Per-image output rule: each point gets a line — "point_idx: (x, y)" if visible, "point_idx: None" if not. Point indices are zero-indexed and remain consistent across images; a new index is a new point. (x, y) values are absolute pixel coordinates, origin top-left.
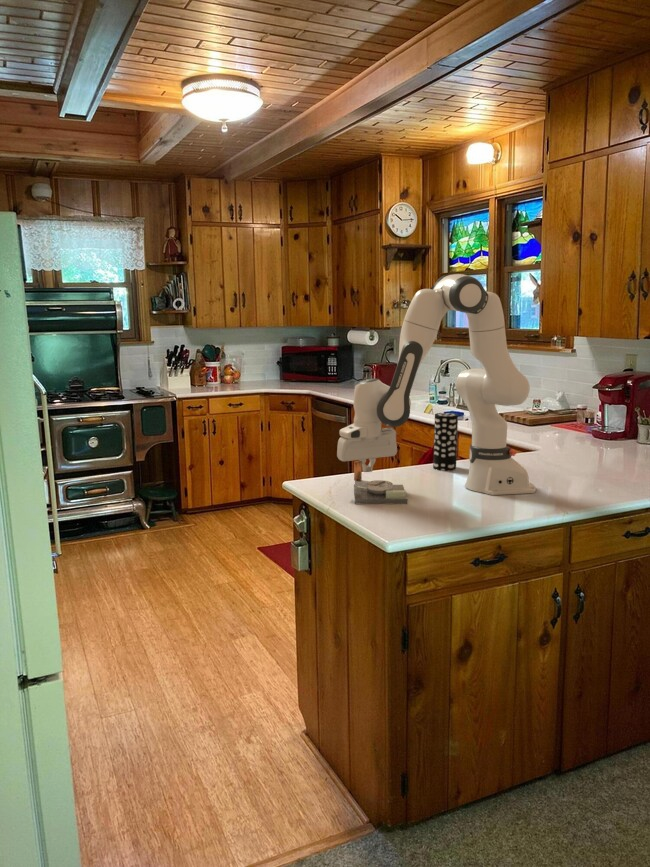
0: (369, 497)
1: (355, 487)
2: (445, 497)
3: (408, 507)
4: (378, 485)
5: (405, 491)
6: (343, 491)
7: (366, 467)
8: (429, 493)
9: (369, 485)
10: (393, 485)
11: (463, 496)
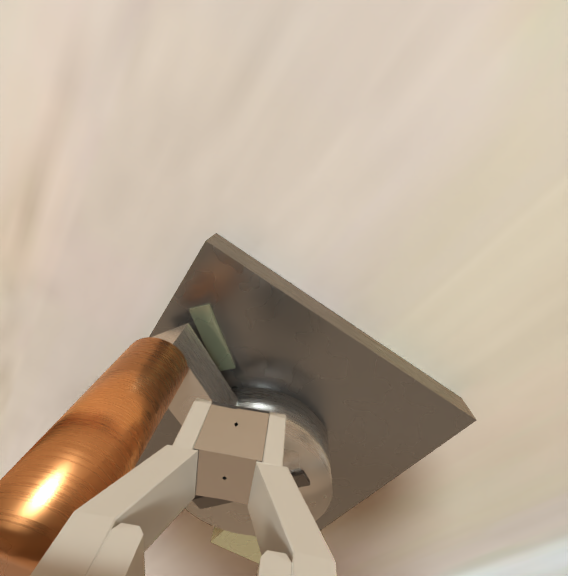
0: None
1: (174, 312)
2: (480, 550)
3: None
4: (216, 505)
5: None
6: (123, 244)
7: (191, 491)
8: (489, 498)
9: None
10: (416, 404)
11: (545, 572)
